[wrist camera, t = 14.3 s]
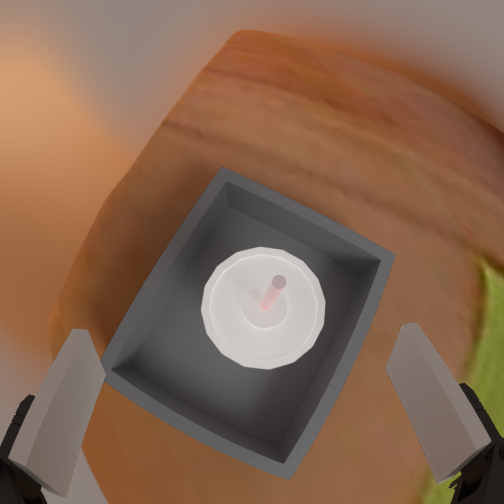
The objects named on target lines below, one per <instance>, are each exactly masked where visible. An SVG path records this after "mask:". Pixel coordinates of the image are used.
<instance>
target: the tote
mask: <svg viewBox="0 0 504 504" xmlns="http://www.w3.org/2000/svg"><path fill="white" fill-rule="evenodd" d="M256 247H265V248H272V249H280V250H284V251H286V252H288V253H289V254H291V255H293V256H295V257H297V258H298V259H300V260H302V261H304V263H305V264H306V265H307V266H308V267H309V269H310V270H311V271H312V272H313V274H314V275H315V276H316V277H317V278H318V280H319V283H320V286H321V289H322V292H323V295H324V299H325V314H324V325H323V327H322V329H321V331H320V333H319V335H318V337H317V339H316V341H315V343H314V345H313V347H312V348H310V349H309V350H308V351H307V352H306V353H304V354H303V355H302V356H301V357H300V358H298V359H297V360H296V361H295V362H293V363H290V364H287V365H283V366H280V367H276V368H273V369H270V370H269V369H260V368H251V367H244V366H242V365H240V364H239V363H237V362H235V361H233V360H232V359H230V358H228V357H226V356H225V355H223V354H222V353H221V352H220V351H219V349H218V348H217V347H216V345H215V344H214V343H213V342H212V340H211V339H210V338H209V336H208V335H207V333H206V329H205V325H204V321H203V317H202V313H201V306H202V300H203V294H204V288H205V285H206V283H207V282H208V280H209V279H210V277H211V275H212V274H213V272H214V271H215V269H216V267H217V266H218V265H219V264H221V263H222V262H224V261H225V260H226V259H228V258H229V257H231V256H232V255H234V254H235V253H236V252H240V251H244V250H248V249H252V248H256ZM394 258H395V254H394V253H392V252H390V251H388V250H387V249H385V248H383V247H381V246H379V245H378V244H376V243H374V242H372V241H371V240H369V239H367V238H365V237H363V236H361V235H360V234H358V233H356V232H354V231H352V230H350V229H349V228H347V227H345V226H343V225H341V224H339V223H337V222H335V221H333V220H332V219H330V218H328V217H326V216H324V215H322V214H320V213H318V212H316V211H314V210H312V209H310V208H308V207H306V206H304V205H302V204H300V203H298V202H296V201H294V200H292V199H290V198H288V197H286V196H284V195H282V194H280V193H278V192H276V191H274V190H272V189H270V188H268V187H265V186H263V185H261V184H259V183H257V182H255V181H253V180H251V179H248V178H246V177H244V176H242V175H240V174H238V173H235V172H233V171H231V170H229V169H226V168H224V167H221V169H220V170H219V171H218V173H217V174H216V175H215V177H214V178H213V180H212V181H211V182H210V184H209V185H208V187H207V188H206V189H205V191H204V192H203V194H202V195H201V197H200V198H199V199H198V201H197V202H196V204H195V205H194V207H193V208H192V210H191V211H190V213H189V214H188V216H187V217H186V218H185V220H184V221H183V223H182V224H181V226H180V227H179V229H178V230H177V232H176V234H175V235H174V237H173V238H172V240H171V241H170V243H169V244H168V246H167V247H166V249H165V250H164V252H163V254H162V255H161V257H160V258H159V260H158V261H157V263H156V265H155V266H154V268H153V269H152V271H151V273H150V274H149V276H148V278H147V279H146V281H145V282H144V284H143V286H142V287H141V289H140V291H139V292H138V294H137V296H136V297H135V299H134V301H133V302H132V304H131V306H130V308H129V309H128V311H127V313H126V315H125V316H124V318H123V320H122V321H121V323H120V325H119V327H118V329H117V330H116V332H115V334H114V336H113V338H112V339H111V341H110V343H109V345H108V347H107V348H106V350H105V352H104V354H103V356H102V358H101V360H100V362H101V364H102V366H103V369H104V371H105V373H106V376H105V379H104V381H105V382H106V383H107V384H109V385H110V386H112V387H113V388H114V389H116V390H117V391H118V392H120V393H121V394H123V395H124V396H126V397H127V398H128V399H130V400H131V401H133V402H134V403H136V404H137V405H139V406H140V407H142V408H143V409H145V410H147V411H148V412H150V413H151V414H153V415H154V416H156V417H158V418H159V419H161V420H163V421H164V422H166V423H168V424H169V425H171V426H173V427H174V428H176V429H178V430H180V431H182V432H183V433H185V434H187V435H189V436H191V437H192V438H194V439H196V440H198V441H200V442H202V443H204V444H206V445H208V446H210V447H212V448H214V449H216V450H218V451H220V452H222V453H224V454H226V455H229V456H231V457H233V458H235V459H237V460H240V461H242V462H244V463H247V464H249V465H251V466H254V467H256V468H259V469H261V470H264V471H266V472H269V473H271V474H274V475H277V476H279V477H282V478H285V479H288V480H290V478H291V477H292V475H293V474H294V472H295V471H296V469H297V468H298V466H299V464H300V463H301V461H302V460H303V458H304V456H305V455H306V453H307V452H308V450H309V448H310V447H311V445H312V443H313V441H314V440H315V438H316V436H317V435H318V433H319V431H320V429H321V428H322V426H323V424H324V422H325V420H326V418H327V417H328V415H329V413H330V411H331V409H332V407H333V405H334V403H335V401H336V400H337V398H338V396H339V394H340V392H341V390H342V388H343V386H344V384H345V381H346V379H347V377H348V375H349V373H350V371H351V369H352V367H353V365H354V362H355V360H356V358H357V356H358V353H359V351H360V349H361V347H362V344H363V342H364V340H365V337H366V335H367V332H368V330H369V327H370V325H371V322H372V320H373V317H374V315H375V312H376V310H377V307H378V304H379V302H380V299H381V296H382V294H383V291H384V288H385V285H386V282H387V279H388V276H389V273H390V270H391V267H392V264H393V261H394Z"/></svg>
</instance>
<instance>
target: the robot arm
mask: <svg viewBox="0 0 504 504" xmlns="http://www.w3.org/2000/svg"><path fill="white" fill-rule="evenodd" d="M385 369H386V371H387V373H388V375H389V377H390V379H391V381H392V383H393V385H394V388H395V390H396V392H397V394H398V396H399V398H400V400H401V402H402V404H403V407H404V409H405V411H406V413H407V415H408V417H409V420H410V422H411V424H412V426H413V429H414V431H415V433H416V435H417V438H418V440H419V442H420V445H421V447H422V449H423V452H424V454H425V456H426V459H427V461H428V464H429V466H430V469H431V471H432V473H433V476H434V479H435V481H436V484H439V483H441V482H443V481H445V480H448V479H450V478H452V477H453V476H454V475H456V474H457V473H458V472H459V471H461V474H462V475H461V476H459V477H458V478H457V479H456V480H454V481H453V482H452V483H451V484H450V486H449V488H452V487H453V486H455V485H456V484H457V486H456V487H455V488H454V489H455V492H454V495H453V498H452V501H451V504H504V438H502V437H501V435H500V434H499V432H498V431H497V429H496V427H495V425H494V424H493V422H492V420H491V419H490V417H489V415H488V413H487V412H486V410H485V409H483V405H482V404H481V402H479V399H478V397H477V396H476V394H475V392H474V391H473V390H472V389H471V388H470V387H469V386H468V385H466V384H465V383H462V384H458V383H457V381H456V379H455V378H454V376H453V375H452V373H451V372H450V370H449V369H448V367H447V366H446V364H445V363H444V361H443V360H442V358H441V357H440V355H439V354H438V352H437V351H436V349H435V348H434V346H433V345H432V343H431V342H430V341H429V339H428V338H427V336H426V335H425V333H424V332H423V331H422V329H421V328H420V326H419V325H418V324H417V322H416V323H408V324H402V327H401V330H400V333H399V335H398V338H397V341H396V343H395V346H394V348H393V351H392V353H391V356H390V358H389V361H388V363H387V366H386V368H385ZM105 376H106V373H105V371H104V369H103V366H102V364H101V362H100V359H99V357H98V355H97V352H96V350H95V347H94V345H93V342H92V339H91V337H90V334H89V331H88V330H84V329H74V328H73V330H72V331H71V333H70V335H69V336H68V338H67V340H66V341H65V343H64V345H63V346H62V348H61V350H60V352H59V353H58V355H57V357H56V359H55V360H54V362H53V364H52V366H51V368H50V370H49V371H48V373H47V375H46V377H45V379H44V381H43V383H42V385H41V387H40V389H39V391H38V392H37V394H36V396H33V395H28V396H27V397H26V398H25V399H24V400H23V401H22V402H21V403H20V405H19V407H18V409H17V411H16V415H14V417H13V419H12V423H11V424H10V426H9V428H8V430H7V433H6V435H5V437H4V439H3V441H2V444H1V446H0V504H47V502H46V500H45V498H44V495H43V494H42V492H41V487H43V488H45V489H46V490H48V491H49V492H51V493H53V494H56V495H59V496H61V497H64V498H66V497H67V494H68V490H69V486H70V482H71V478H72V475H73V471H74V468H75V464H76V460H77V457H78V454H79V451H80V448H81V444H82V441H83V438H84V435H85V432H86V429H87V426H88V423H89V420H90V417H91V414H92V411H93V409H94V406H95V403H96V400H97V397H98V395H99V392H100V389H101V387H102V384H103V381H104V379H105Z"/></svg>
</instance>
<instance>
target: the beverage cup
mask: <svg viewBox="0 0 504 504" xmlns="http://www.w3.org/2000/svg"><path fill="white" fill-rule="evenodd" d="M201 313H202V317H203V321H204V325H205V329H206V333H207V335H208V336H209V338H210V339H211V340H212V342H213V343H214V344H215V345H216V347H217V348H218V349H219V351H220V352H221V353H222V354H223V355H225V356H226V357H228V358H230V359H232V360H233V361H235V362H237V363H239V364H240V365H242V366H244V367H251V368H260V369H269V370H270V369H273V368H276V367H280V366H283V365H287V364H290V363H293V362H295V361H296V360H297V359H298V358H300V357H301V356H302V355H303V354H304V353H306V352H307V351H308V350H309V349H310V348H312V347H313V345H314V343H315V341H316V339H317V337H318V335H319V333H320V331H321V329H322V327H323V325H324V314H325V299H324V295H323V292H322V289H321V286H320V283H319V280H318V278H317V277H316V276H315V275H314V274H313V272H312V271H311V270H310V269H309V267H308V266H307V265H306V264H305V263H304V261H302V260H300V259H298V258H297V257H295V256H293V255H291V254H289V253H288V252H286V251H284V250H280V249H272V248H265V247H256V248H252V249H248V250H244V251H240V252H236V253H235V254H234V255H232V256H231V257H229V258H228V259H226V260H225V261H224V262H222V263H221V264H219V265H218V266H217V267H216V269H215V271H214V272H213V274H212V275H211V277H210V279H209V280H208V282H207V283H206V285H205V288H204V294H203V300H202V306H201Z"/></svg>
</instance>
